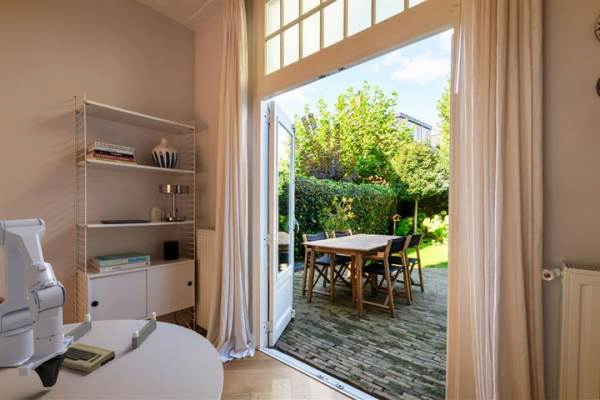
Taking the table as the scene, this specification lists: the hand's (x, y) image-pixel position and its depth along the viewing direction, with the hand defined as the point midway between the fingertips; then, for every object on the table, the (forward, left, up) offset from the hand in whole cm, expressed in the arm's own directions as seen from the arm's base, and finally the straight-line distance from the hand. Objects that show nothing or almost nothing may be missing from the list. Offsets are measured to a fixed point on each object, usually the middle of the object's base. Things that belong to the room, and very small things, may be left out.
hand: (49, 385), depth 73 cm
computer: (0, +12, -2) cm, 13 cm away
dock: (0, +25, -1) cm, 25 cm away
